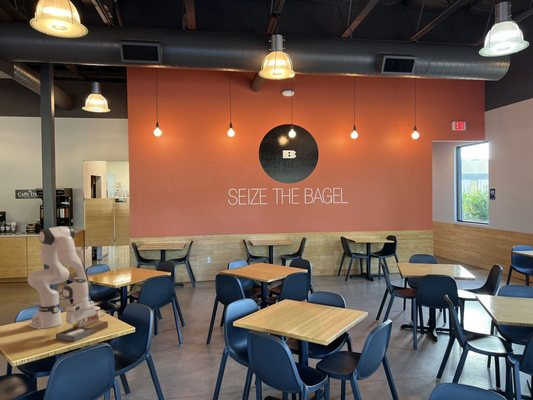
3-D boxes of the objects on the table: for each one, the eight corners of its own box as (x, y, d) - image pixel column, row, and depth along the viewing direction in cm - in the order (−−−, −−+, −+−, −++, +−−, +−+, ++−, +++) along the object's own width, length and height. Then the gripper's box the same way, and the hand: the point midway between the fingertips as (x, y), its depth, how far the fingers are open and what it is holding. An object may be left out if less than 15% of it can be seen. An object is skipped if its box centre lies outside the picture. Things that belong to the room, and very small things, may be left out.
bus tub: (56, 339, 230) (55, 333, 230) (73, 332, 242) (73, 326, 242) (73, 342, 225) (73, 336, 225) (91, 334, 237) (91, 329, 237)
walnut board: (73, 332, 242) (73, 326, 242) (91, 325, 255) (90, 319, 255) (91, 334, 237) (91, 328, 237) (107, 327, 250) (107, 321, 250)
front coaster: (72, 331, 235) (72, 335, 235) (65, 334, 231) (65, 338, 231) (77, 332, 233) (77, 336, 233) (70, 334, 229) (71, 338, 229)
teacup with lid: (86, 324, 257) (86, 307, 257) (86, 320, 266) (86, 304, 266) (105, 321, 263) (104, 305, 263) (104, 317, 271) (104, 302, 271)
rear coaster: (72, 335, 235) (72, 331, 235) (79, 332, 240) (79, 328, 240) (78, 336, 233) (78, 332, 233) (85, 333, 238) (85, 329, 238)
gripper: (90, 300, 250) (91, 320, 250) (64, 308, 231) (64, 330, 231) (97, 300, 248) (98, 321, 248) (71, 309, 229) (72, 331, 229)
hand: (81, 326), depth 239 cm, fingers closed
